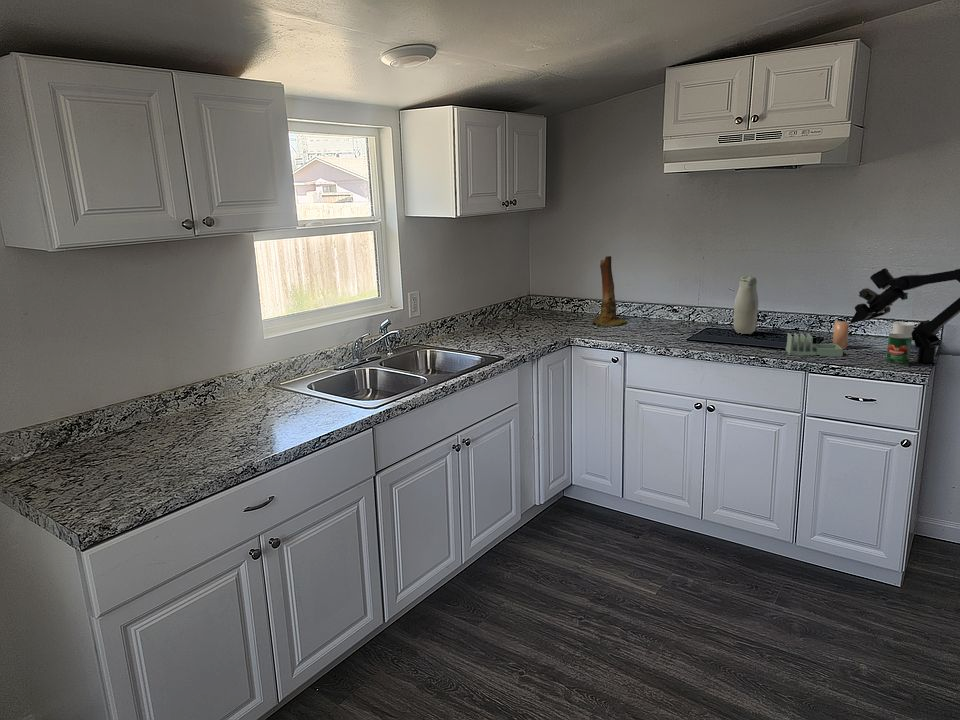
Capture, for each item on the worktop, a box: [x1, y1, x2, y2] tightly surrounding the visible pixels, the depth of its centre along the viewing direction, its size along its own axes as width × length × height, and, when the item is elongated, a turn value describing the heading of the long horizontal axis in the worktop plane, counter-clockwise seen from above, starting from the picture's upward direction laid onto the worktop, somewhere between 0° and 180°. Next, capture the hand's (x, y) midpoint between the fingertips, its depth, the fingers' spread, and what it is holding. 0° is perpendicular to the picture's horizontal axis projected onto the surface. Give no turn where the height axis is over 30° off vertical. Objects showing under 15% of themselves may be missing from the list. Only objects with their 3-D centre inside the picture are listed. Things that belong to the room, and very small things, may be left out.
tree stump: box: [592, 255, 628, 327], centre depth 359 cm, size 20×16×35 cm
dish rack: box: [785, 332, 844, 357], centre depth 286 cm, size 10×20×8 cm, turn 76°
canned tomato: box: [885, 333, 913, 367], centre depth 266 cm, size 8×8×11 cm
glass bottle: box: [732, 274, 759, 335], centre depth 324 cm, size 10×10×28 cm
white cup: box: [892, 321, 916, 336], centre depth 293 cm, size 8×8×10 cm
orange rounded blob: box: [832, 320, 850, 350], centre depth 294 cm, size 6×6×11 cm
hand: (856, 321), depth 288 cm, fingers open, 9 cm apart
